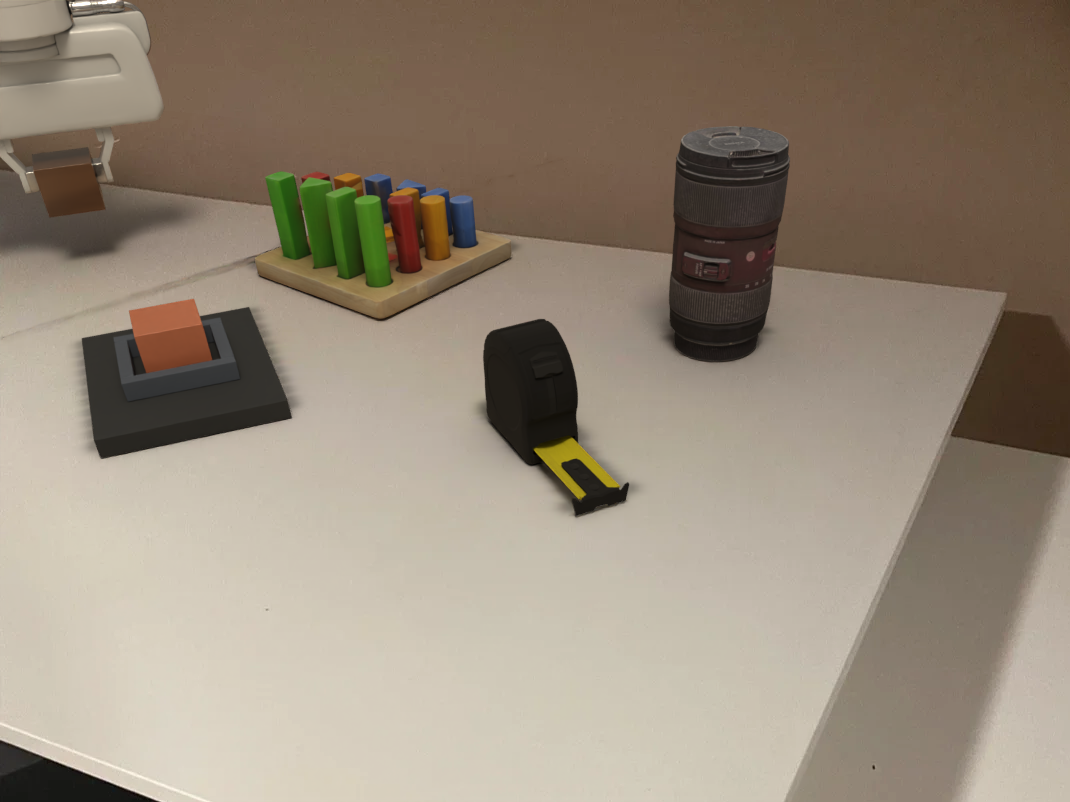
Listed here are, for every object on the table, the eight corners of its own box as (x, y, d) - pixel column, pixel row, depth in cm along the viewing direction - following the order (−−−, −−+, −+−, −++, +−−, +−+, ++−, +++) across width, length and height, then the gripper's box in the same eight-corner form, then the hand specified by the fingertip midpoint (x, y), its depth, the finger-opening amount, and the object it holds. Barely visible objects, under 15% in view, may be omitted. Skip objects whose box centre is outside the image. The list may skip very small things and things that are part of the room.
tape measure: (485, 419, 75) (476, 313, 69) (538, 405, 76) (533, 300, 70) (573, 518, 65) (571, 405, 60) (631, 500, 67) (635, 387, 61)
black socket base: (291, 418, 76) (283, 380, 74) (101, 458, 73) (86, 421, 71) (253, 323, 88) (244, 289, 86) (87, 355, 85) (74, 320, 83)
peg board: (515, 257, 96) (509, 159, 90) (381, 322, 87) (365, 218, 81) (389, 219, 104) (376, 126, 98) (255, 275, 96) (232, 177, 89)
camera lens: (785, 354, 80) (814, 146, 70) (692, 374, 78) (708, 164, 68) (737, 314, 86) (757, 115, 75) (649, 332, 84) (658, 131, 73)
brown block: (105, 209, 93) (91, 162, 91) (49, 217, 92) (32, 170, 89) (102, 192, 97) (88, 146, 94) (47, 200, 96) (31, 154, 93)
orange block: (216, 373, 78) (202, 323, 76) (150, 387, 77) (133, 336, 74) (207, 347, 82) (193, 298, 79) (144, 359, 81) (128, 310, 78)
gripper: (136, -13, 88) (180, 160, 98) (-119, 10, 83) (-46, 190, 93) (143, 0, 84) (187, 180, 94) (-125, 26, 79) (-48, 213, 89)
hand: (69, 186), depth 93 cm, fingers closed on brown block, 5 cm apart
